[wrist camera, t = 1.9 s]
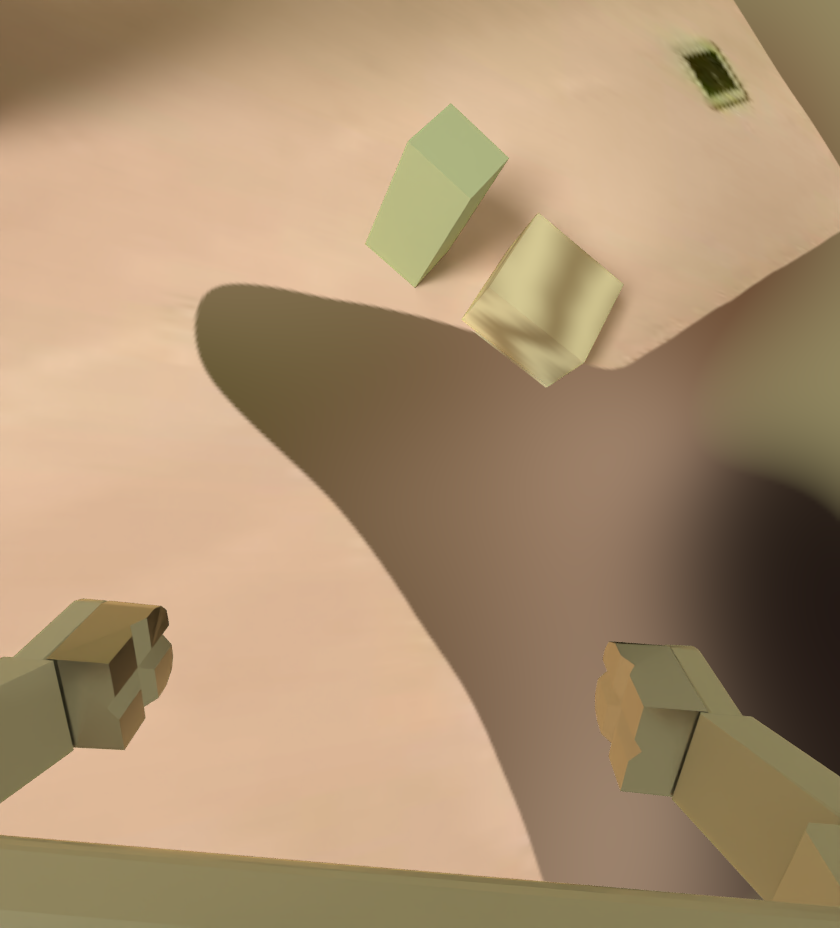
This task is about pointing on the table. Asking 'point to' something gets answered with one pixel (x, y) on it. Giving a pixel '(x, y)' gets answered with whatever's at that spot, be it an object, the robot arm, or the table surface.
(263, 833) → the table surface
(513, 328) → the base block
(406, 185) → the green block
